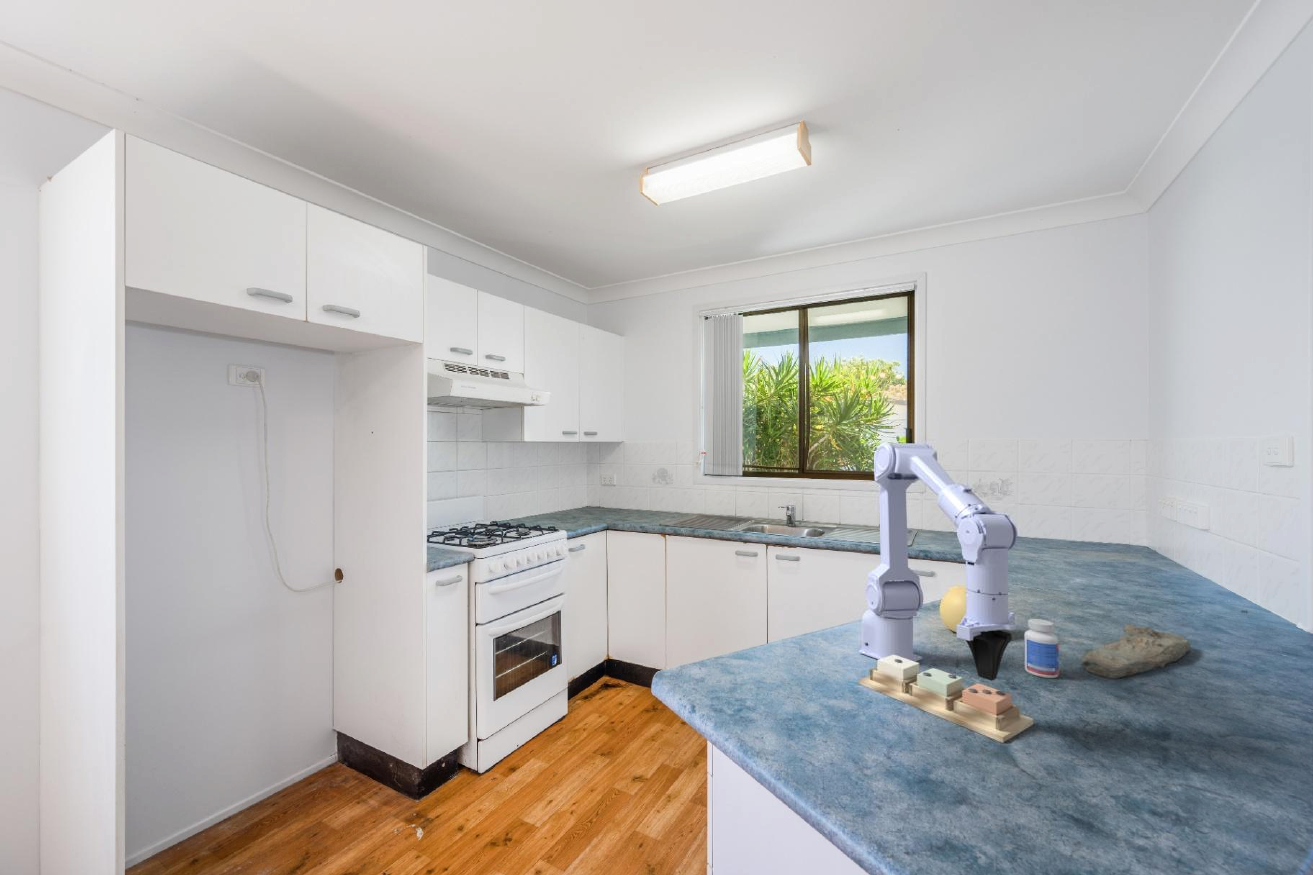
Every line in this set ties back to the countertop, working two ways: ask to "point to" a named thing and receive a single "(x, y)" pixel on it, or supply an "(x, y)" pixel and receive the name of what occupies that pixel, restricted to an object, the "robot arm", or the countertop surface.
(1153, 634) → the long grey stone
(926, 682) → the tile two
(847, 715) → the countertop surface
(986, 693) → the tile three
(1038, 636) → the pill bottle
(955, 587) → the sculpture
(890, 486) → the robot arm
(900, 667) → the tile one
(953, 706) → the tile board
